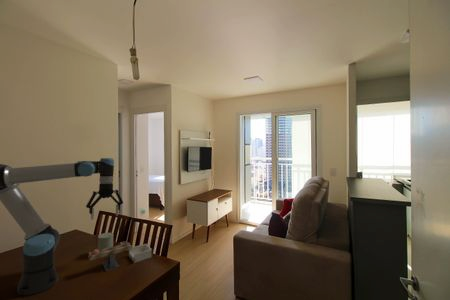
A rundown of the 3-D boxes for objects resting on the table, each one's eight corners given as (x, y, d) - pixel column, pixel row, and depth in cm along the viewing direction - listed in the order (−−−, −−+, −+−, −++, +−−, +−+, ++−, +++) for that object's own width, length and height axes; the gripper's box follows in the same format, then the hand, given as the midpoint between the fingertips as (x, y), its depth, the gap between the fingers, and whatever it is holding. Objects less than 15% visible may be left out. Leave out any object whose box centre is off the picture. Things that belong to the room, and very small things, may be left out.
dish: (134, 263, 128) (134, 254, 128) (128, 256, 136) (128, 248, 136) (152, 257, 135) (152, 249, 135) (145, 251, 143) (146, 243, 143)
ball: (92, 257, 117) (92, 251, 117) (91, 255, 120) (91, 249, 120) (99, 255, 119) (99, 249, 119) (98, 253, 122) (98, 247, 122)
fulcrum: (106, 271, 118) (106, 257, 119) (102, 264, 126) (102, 250, 126) (119, 267, 123) (119, 253, 123) (115, 260, 131) (115, 247, 131)
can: (108, 256, 136) (108, 237, 136) (94, 255, 136) (94, 237, 136) (116, 249, 145) (116, 232, 145) (102, 249, 145) (103, 231, 145)
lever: (89, 262, 116) (89, 255, 116) (86, 254, 125) (86, 247, 125) (132, 251, 130) (132, 244, 130) (126, 244, 139) (126, 238, 139)
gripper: (83, 185, 121) (81, 222, 121) (129, 182, 138) (127, 215, 137) (81, 183, 127) (79, 219, 126) (125, 180, 143) (124, 212, 143)
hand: (104, 217), depth 132 cm, fingers open, 13 cm apart
